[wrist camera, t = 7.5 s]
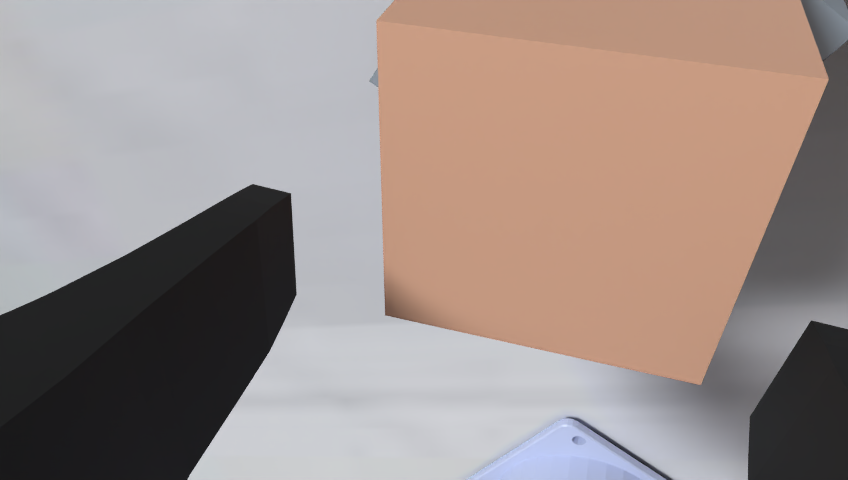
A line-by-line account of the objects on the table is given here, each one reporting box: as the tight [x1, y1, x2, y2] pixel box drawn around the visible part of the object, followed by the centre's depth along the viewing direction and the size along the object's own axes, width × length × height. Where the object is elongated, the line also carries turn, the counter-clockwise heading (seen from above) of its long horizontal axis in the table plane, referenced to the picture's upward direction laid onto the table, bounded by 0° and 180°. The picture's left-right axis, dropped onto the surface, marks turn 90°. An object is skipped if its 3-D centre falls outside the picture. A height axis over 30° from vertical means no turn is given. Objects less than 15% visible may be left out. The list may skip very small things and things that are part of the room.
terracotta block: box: [377, 0, 829, 385], centre depth 10 cm, size 5×5×5 cm
